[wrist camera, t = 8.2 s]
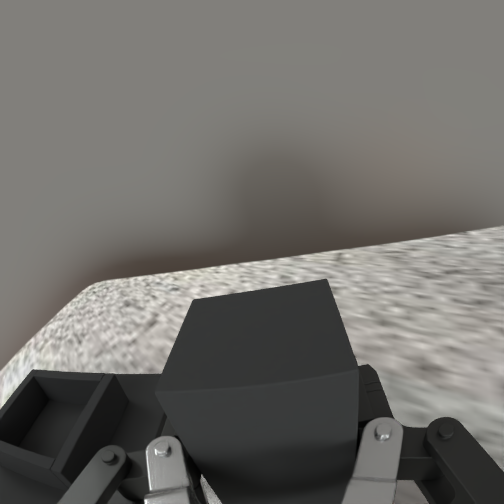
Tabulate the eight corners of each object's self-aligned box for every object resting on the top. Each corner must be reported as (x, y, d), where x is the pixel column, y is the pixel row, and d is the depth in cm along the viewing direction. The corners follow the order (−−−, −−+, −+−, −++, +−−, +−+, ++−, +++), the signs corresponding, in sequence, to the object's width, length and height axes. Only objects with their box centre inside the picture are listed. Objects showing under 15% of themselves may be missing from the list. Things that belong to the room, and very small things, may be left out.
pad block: (247, 451, 15) (192, 299, 12) (338, 441, 15) (326, 277, 11) (240, 528, 11) (152, 392, 7) (350, 518, 10) (359, 369, 7)
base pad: (47, 380, 23) (28, 347, 22) (183, 384, 22) (167, 345, 20) (-27, 489, 10) (-60, 455, 9) (129, 560, 9) (87, 535, 7)
